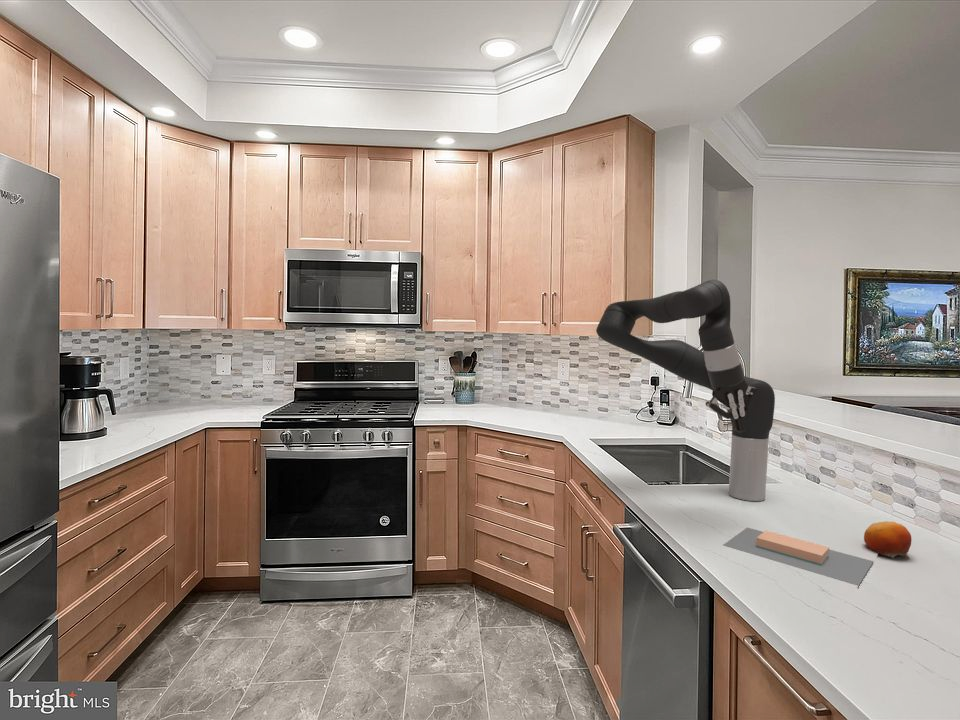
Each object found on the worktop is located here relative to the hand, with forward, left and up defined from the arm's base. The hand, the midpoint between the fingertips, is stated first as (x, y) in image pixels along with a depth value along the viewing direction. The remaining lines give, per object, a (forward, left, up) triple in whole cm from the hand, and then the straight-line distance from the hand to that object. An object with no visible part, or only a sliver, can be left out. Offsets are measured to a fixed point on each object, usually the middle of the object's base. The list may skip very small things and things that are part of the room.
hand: (740, 430), depth 129 cm
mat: (+12, +16, -22) cm, 30 cm away
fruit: (-5, +29, -22) cm, 37 cm away
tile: (+12, +9, -21) cm, 26 cm away
